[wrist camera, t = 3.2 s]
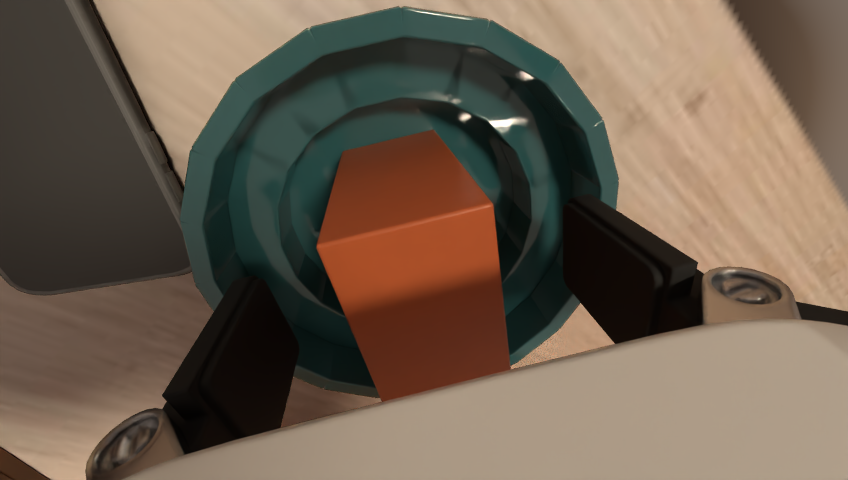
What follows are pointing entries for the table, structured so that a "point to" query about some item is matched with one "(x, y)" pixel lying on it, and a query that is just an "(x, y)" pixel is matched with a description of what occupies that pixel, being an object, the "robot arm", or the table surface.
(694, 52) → the table surface
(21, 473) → the holder bin
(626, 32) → the table surface
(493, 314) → the terracotta rectangular prism
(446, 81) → the bowl
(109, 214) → the smartphone
